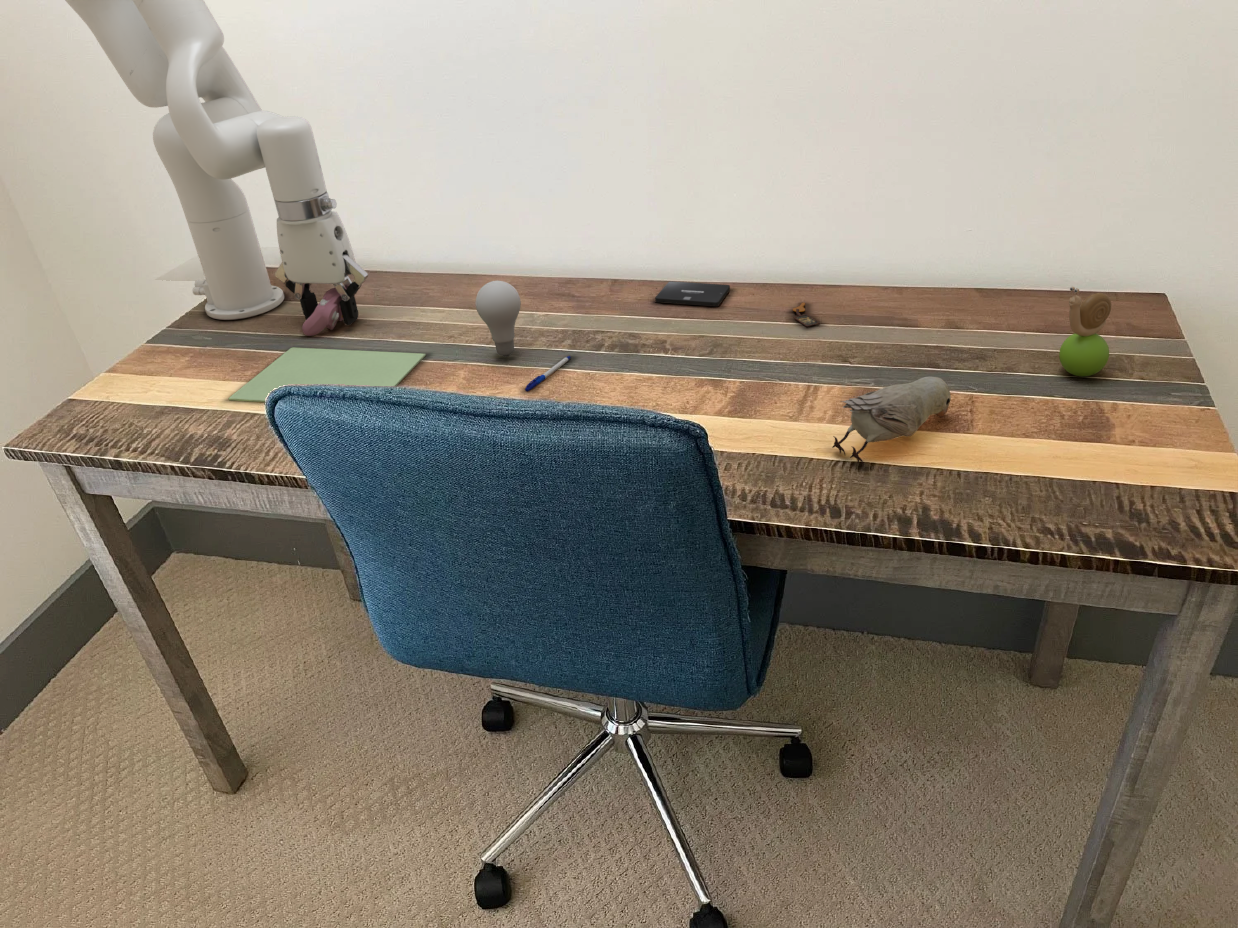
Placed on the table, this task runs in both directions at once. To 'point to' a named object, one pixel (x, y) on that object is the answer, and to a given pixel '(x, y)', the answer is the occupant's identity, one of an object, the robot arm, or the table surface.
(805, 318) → the key tag
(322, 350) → the desk mat
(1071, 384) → the table surface
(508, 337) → the lightbulb
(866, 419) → the decorative bird
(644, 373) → the table surface
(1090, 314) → the snail figurine
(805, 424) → the table surface
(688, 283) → the solid state drive
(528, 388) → the ballpoint pen
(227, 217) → the robot arm
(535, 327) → the table surface
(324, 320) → the video game controller
